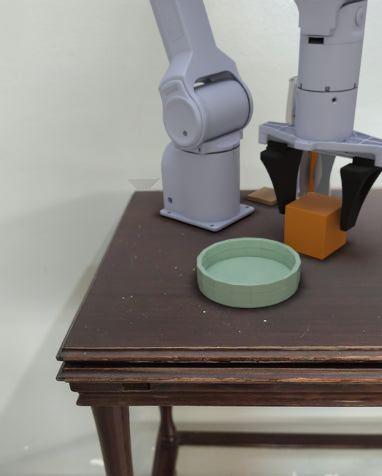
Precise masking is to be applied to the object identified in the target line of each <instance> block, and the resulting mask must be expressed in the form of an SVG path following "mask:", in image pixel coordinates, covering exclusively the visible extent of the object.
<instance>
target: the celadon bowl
mask: <svg viewBox="0 0 382 476" xmlns="http://www.w3.org/2000/svg"><path fill="white" fill-rule="evenodd" d="M300 257H301V256H300V253H299V252H296V251H295V250H293V249H292V248H291V247H290V246H287V245H285V244H284V242H280V241H277V240H273V239H268V238H264V237H263V238H262V237H238V238H230V239H225V240H221V241H217V242H215V243H212V244H211V245H209V246H207V247H205V248H204V249H203V250H202V251H200V253H199V255H197V256H196V278H197V279H196V280H197V287H198V289H199V291H200V293H201V294H202V295H204V296H205V298H208V300H211V301H213V302H215V303H217V304H219V305H220V304H221V305H224V306H228V307H232V308H242V309H243V308H244V309H254V308H263V307H269V306H273V305H277V304H280V303H282V302H284V301H287V300H288V299H289V298H291V297H292V296H293V295H295V293H296V292H297V290H298V289H299V284H300V281H301V268H302V261H301V258H300Z"/></svg>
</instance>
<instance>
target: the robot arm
mask: <svg viewBox="0 0 382 476" xmlns="http://www.w3.org/2000/svg"><path fill="white" fill-rule="evenodd" d="M148 1H149V4H150V6H151V11H152V13H153V16H154V19H155V22H156V26H157V29H158V32H159V35H160V39H161V41H162V44H163V48H164V51H165V54H166V56H167V60H168V63H169V64H168V67H167V69H166V71H165V72H164V75H163V77H162V79H161V80H160V82H159V85H158V86H157V90H158V92H159V95H160V98H161V104H162V122H163V126H164V129H165V132H166V134H167V136H168V137H169V139H170V140H171V141H170V142H169V143H168V144H167V145H166V147H165V148H164V150H163V153H162V156H161V162H160V170H161V171H160V172H161V184H162V194H163V195H162V197H163V208H162V209H161V210H159V214H160V215H161V216H164V217H167V218H170V219H173V220H176V221H180V222H183V223H186V224H189V225H192V226H194V227H195V226H196V227H198V228H202V229H205V230H208V231H212V232H218V231H220V230H222V229H223V228H226V227H228V226H230V225H232V224H233V223H235V222H237V221H239V220H241V219H243V218H245V217H247V216H248V215H251V214H252V213H253V212H255V207H254V206H251V205H247V204H244V203H241V140H243V139H244V129H246V128H247V127H248V126H249V124H250V122H251V120H252V118H253V114H254V99H253V95H252V93H251V90H250V89H249V86H247V84H246V83H245V81H244V80H243V79H242V77H241V75H240V73H239V71H238V67H237V63H236V62H235V60H233V59H232V57H230V56H229V55H228V54H226V53H225V52H224V51H223V50H221V49H220V48H219V47H218V46H217V44H216V40H215V37H214V33H213V29H212V26H211V23H210V20H209V16H208V12H207V9H206V6H205V2H204V0H148ZM293 1H294V3H295V5H296V7H297V10H298V28H299V29H300V30H299V47H298V65H297V76H298V81H297V98H296V115H295V123H285V122H280V121H271V120H270V121H266V122H264V123H260V124H259V125H258V140H257V141H258V144H260V145H266V146H265V149H264V150H262V151H260V152H259V160H260V162H261V163H262V165H263V166H264V168H265V170H266V172H267V174H268V177H269V179H270V181H271V184H272V187H273V189H274V191H275V195H276V199H277V203H276V204H277V208H278V209H277V210H278V213H279V215H282V216H285V208H286V205H288V204H290V203H291V202H293V201H295V200H296V190H297V177H298V171H299V166H300V162H301V157H302V154H303V150H305V151H313V152H318V153H324V154H329V155H334V156H336V157H339V158H346V159H349V160H351V162H349V163H347V164H345V165H344V166H342V167H341V166H340V168H339V176H340V183H341V199H342V208H341V216H340V230H341V231H345V232H346V231H347V232H348V231H350V230H351V229H352V228H354V227H355V226H356V224H357V221H358V218H359V215H360V212H361V209H362V207H363V205H364V203H365V201H366V199H367V197H368V194H369V193H370V191H371V189H372V188H373V186H374V184H375V183H376V181H377V180H378V178H379V177H380V175H381V174H382V138H379V137H376V136H374V135H370V134H368V133H364V132H361V131H358V130H355V129H354V127H355V117H356V109H357V101H358V100H357V99H358V91H359V83H360V76H361V75H360V74H361V65H362V59H363V58H362V57H363V48H364V40H365V29H366V20H367V11H368V2H369V1H368V0H293ZM199 83H201V84H199ZM195 84H199V85H196V86H195Z"/></svg>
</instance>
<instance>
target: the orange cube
mask: <svg viewBox="0 0 382 476" xmlns="http://www.w3.org/2000/svg"><path fill="white" fill-rule="evenodd" d="M341 208H342V198H339V197H334V196H332V197H331V196H326V195H322V194H318V193H314V192H309V193H307V194H306V195H304V196H302V197H300V198H298V199H297V200H295V201H293V202H291V203H290V204H288V205H286V208H285V215H284V231H283V244H285V245H287V246H290V247H291V248H292V249H293V250H295V251H296V252H297V253H298V254H303V255H306V256H309V257H312V258H315V259H319V260H324V259H325V258H327V257H328V256H330V255H332V254H333V253H334V252H336V251H337V250H339V249H340V248H342V247H343V246H344V245H345V244H346V241H347V234H348V231H346V232H345V231H341V230H340V216H341Z"/></svg>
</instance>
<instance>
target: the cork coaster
mask: <svg viewBox="0 0 382 476" xmlns="http://www.w3.org/2000/svg"><path fill="white" fill-rule="evenodd" d="M246 199H247V200H248V201H252V202H256V203H260V204H263V205H266V206H271V207H273V206H274V205H276V204H277V199H276V195H275V191H274V188H272V187H268V186H263V187H261V188H259V189H256V190H255V191H253V192H251V193H249V194H247V195H246Z"/></svg>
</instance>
